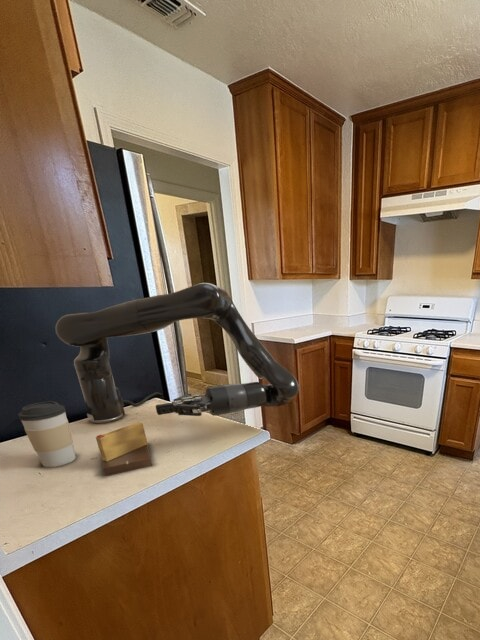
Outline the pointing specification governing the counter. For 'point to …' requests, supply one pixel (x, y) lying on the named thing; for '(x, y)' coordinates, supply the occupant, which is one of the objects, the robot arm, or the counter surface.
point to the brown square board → (128, 461)
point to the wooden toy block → (121, 441)
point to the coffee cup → (48, 432)
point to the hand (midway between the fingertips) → (156, 410)
